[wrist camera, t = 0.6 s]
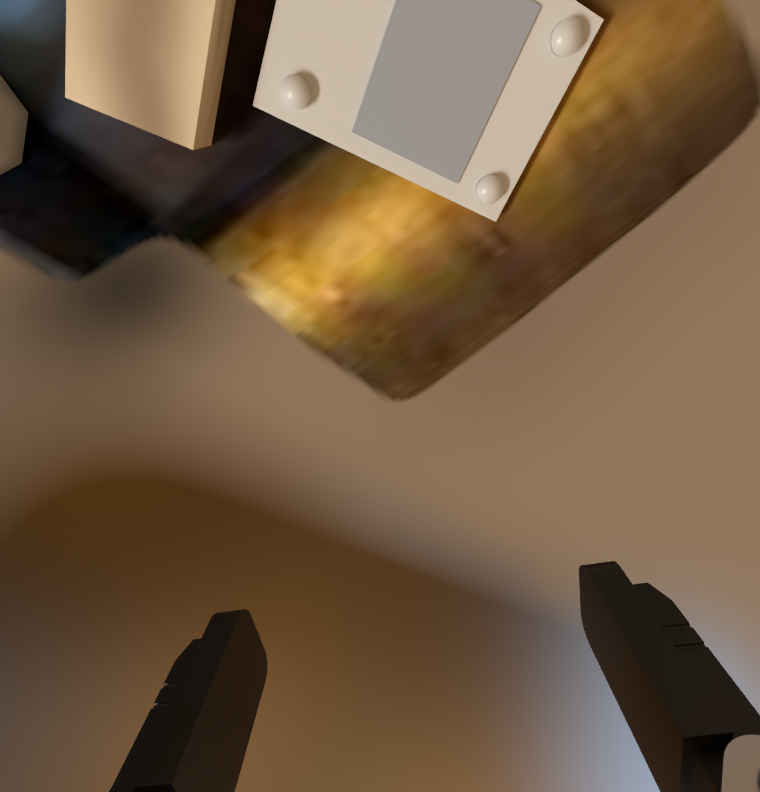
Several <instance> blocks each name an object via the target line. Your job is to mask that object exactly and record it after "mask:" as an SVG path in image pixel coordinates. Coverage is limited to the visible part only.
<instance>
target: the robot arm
mask: <svg viewBox="0 0 760 792" xmlns="http://www.w3.org/2000/svg"><path fill="white" fill-rule="evenodd" d="M579 583H580V606H581V618H582V623H583V627H584V631H585V634H586V637H587V639H588V642H589V644H590V646H591V648H592V651H593V653H594V655H595V657H596V659H597V661H598V663H599V665H600V667H601V669H602V671H603V673H604V675H605V677H606V680H607V682H608V684H609V686H610V688H611V690H612V692H613V694H614V696H615V698H616V700H617V702H618V704H619V706H620V708H621V711H622V712H623V715H624V717H625V719H626V721H627V723H628V725H629V727H630V729H631V731H632V733H633V736H634V738H635V740H636V742H637V744H638V746H639V748H640V750H641V752H642V754H643V756H644V758H645V760H646V763H647V764H648V767H649V769H650V771H651V773H652V775H653V777H654V779H655V781H656V783H657V785H658V787H659V790H660V792H760V715H759V714H758V713H757V711H756V710H755V708H754V707H753V706H752V705H751V703H750V702H749V701H748V699H747V698H746V697H745V695H744V694H743V693H742V691H741V690H740V689H739V688H738V686H737V685H736V684H735V682H734V681H733V680H732V678H731V677H730V676H729V675H728V673H727V672H726V670H725V669H724V668H723V667H722V665H721V664H720V663H719V661H718V660H717V659H716V657H715V656H714V655H713V653H712V652H711V651H710V650H709V648H708V647H705V645H704V642H703V640H702V639H701V638H700V636H699V635H698V634H697V633H696V631H695V630H694V629H693V628H691V627H690V625H689V622H688V621H687V619H686V618H685V617H684V616H683V614H682V613H681V612H680V610H679V609H678V608H677V606H676V605H675V604H674V602H673V601H672V600H671V599H669V598H668V597H667V596H665V595H664V594H662V593H661V592H660V591H658V590H657V589H656V588H654V587H653V586H651V585H650V584H649V583H641V584H634V585H632V583H631V582H630V580H629V579H628V577H627V576H626V575H625V573H624V571H623V570H622V569H621V567H620V566H619V565H618V564H617V563H616V562H615V561H611V562H604V563H596V564H589V565H581V566H580V568H579ZM266 676H267V657H266V652H265V649H264V647H263V644H262V642H261V639H260V637H259V634H258V632H257V629H256V627H255V624H254V622H253V619H252V617H251V614H250V612H249V611H248V610H246V609H242V610H235V611H228V612H220V613H216V614H214V615H213V616H212V618H211V619H210V621H209V623H208V626H207V628H206V630H205V632H204V634H203V636H202V638H201V639H194V640H193V641H192V642H191V643H190V644H189V646H188V647H187V648H186V649H185V650H184V651H183V653H182V654H181V655H180V656H179V657H178V658H177V659H176V661H175V663H174V665H173V666H172V668H171V671H170V672H169V675H168V677H167V679H166V680H165V682H164V688H162V689H161V690H160V692H159V694H158V696H157V699H156V700H155V702H154V708H153V709H151V710H150V712H149V714H148V716H147V718H146V720H145V722H144V724H143V726H142V728H141V730H140V732H139V734H138V736H137V738H136V740H135V742H134V744H133V746H132V748H131V750H130V752H129V754H128V756H127V758H126V760H125V762H124V764H123V766H122V768H121V770H120V772H119V774H118V776H117V778H116V780H115V782H114V784H113V786H112V788H111V789H110V791H109V792H235V788H236V785H237V781H238V777H239V774H240V771H241V767H242V763H243V760H244V756H245V752H246V749H247V745H248V742H249V738H250V734H251V731H252V728H253V724H254V720H255V717H256V713H257V710H258V706H259V702H260V699H261V695H262V691H263V688H264V685H265V681H266Z"/></svg>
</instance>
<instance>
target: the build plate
mask: <svg viewBox="0 0 760 792" xmlns="http://www.w3.org/2000/svg"><path fill="white" fill-rule="evenodd" d="M603 20H604V19H602V18H601V17H599V16H598V15H596V14H595V13H594V12H592V11H591V10H589V9H588V8H586V7H585V6H583V5H582V4H580V3H579V2H577V1H576V0H276V4H275V8H274V13H273V17H272V22H271V26H270V31H269V35H268V40H267V44H266V49H265V53H264V57H263V62H262V66H261V71H260V75H259V80H258V84H257V89H256V93H255V98H254V102H253V106H254V107H256V108H258V109H260V110H263V111H265V112H267V113H269V114H271V115H273V116H275V117H277V118H279V119H281V120H284V121H286V122H288V123H290V124H292V125H294V126H296V127H298V128H300V129H302V130H304V131H307V132H309V133H311V134H313V135H315V136H317V137H319V138H321V139H323V140H325V141H328V142H330V143H332V144H334V145H336V146H338V147H340V148H342V149H344V150H346V151H348V152H351V153H353V154H355V155H357V156H359V157H361V158H363V159H365V160H367V161H369V162H372V163H374V164H376V165H378V166H380V167H382V168H384V169H386V170H388V171H390V172H393V173H395V174H397V175H399V176H401V177H403V178H405V179H407V180H409V181H411V182H413V183H416V184H418V185H420V186H422V187H424V188H426V189H428V190H430V191H432V192H434V193H437V194H439V195H441V196H443V197H445V198H447V199H449V200H451V201H453V202H455V203H457V204H460V205H462V206H464V207H466V208H468V209H470V210H472V211H474V212H476V213H478V214H481V215H483V216H485V217H487V218H489V219H491V220H493V221H495V222H496V220H497V218H498V217H499V215H500V213H501V211H502V209H503V207H504V205H505V204H506V202H507V200H508V198H509V196H510V194H511V192H512V190H513V189H514V187H515V185H516V183H517V181H518V179H519V177H520V175H521V174H522V172H523V170H524V168H525V166H526V164H527V162H528V161H529V159H530V157H531V155H532V153H533V151H534V149H535V147H536V146H537V144H538V142H539V140H540V138H541V136H542V134H543V133H544V131H545V129H546V127H547V125H548V123H549V121H550V119H551V118H552V116H553V114H554V112H555V110H556V108H557V106H558V105H559V103H560V101H561V99H562V97H563V95H564V93H565V91H566V90H567V88H568V86H569V84H570V82H571V80H572V78H573V76H574V75H575V73H576V71H577V69H578V67H579V65H580V63H581V62H582V60H583V58H584V56H585V54H586V52H587V50H588V48H589V47H590V45H591V43H592V41H593V39H594V37H595V35H596V34H597V32H598V30H599V28H600V26H601V24H602V22H603Z"/></svg>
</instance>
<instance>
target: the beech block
mask: <svg viewBox="0 0 760 792" xmlns="http://www.w3.org/2000/svg"><path fill="white" fill-rule="evenodd" d="M235 2H236V0H66V65H65V98H68V99H70V100H72V101H75V102H77V103H80V104H82V105H85V106H87V107H89V108H92V109H94V110H97V111H99V112H102V113H104V114H107V115H109V116H111V117H114V118H116V119H119V120H121V121H124V122H126V123H128V124H131V125H133V126H136V127H138V128H141V129H143V130H146V131H148V132H150V133H153V134H155V135H158V136H160V137H163V138H165V139H168V140H170V141H172V142H175V143H177V144H180V145H182V146H185V147H187V148H189V149H192V150H195V149H199V148H203V147H206V146H210V145H211V144H212V138H213V133H214V127H215V121H216V115H217V109H218V103H219V97H220V91H221V85H222V79H223V73H224V67H225V61H226V56H227V50H228V44H229V38H230V32H231V26H232V20H233V14H234V8H235Z"/></svg>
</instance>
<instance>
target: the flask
mask: <svg viewBox="0 0 760 792" xmlns="http://www.w3.org/2000/svg"><path fill="white" fill-rule="evenodd" d="M27 119H28V112H27V110H26V109H25V108H24V106H23V105H22V104H21V102H20V101H19V100H18V98H17V97H16V95H15V94H14V93H13V91H12V90H11V89H10V87H9V86H8V85H7V83H6V82H5V81H4V79H3V78H2V77H1V75H0V175H1V174H3V173H5V172H7V171H9V170H10V169H12V168H14V167H16V166H17V165H19V164H21V163H22V156H23V149H24V141H25V134H26V127H27Z"/></svg>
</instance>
